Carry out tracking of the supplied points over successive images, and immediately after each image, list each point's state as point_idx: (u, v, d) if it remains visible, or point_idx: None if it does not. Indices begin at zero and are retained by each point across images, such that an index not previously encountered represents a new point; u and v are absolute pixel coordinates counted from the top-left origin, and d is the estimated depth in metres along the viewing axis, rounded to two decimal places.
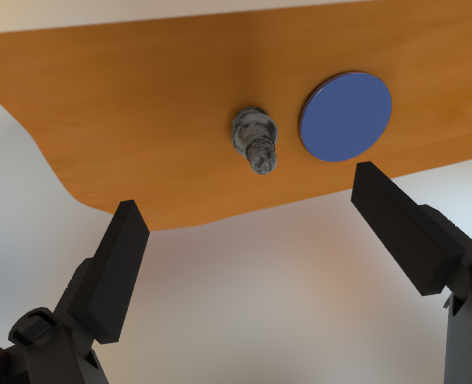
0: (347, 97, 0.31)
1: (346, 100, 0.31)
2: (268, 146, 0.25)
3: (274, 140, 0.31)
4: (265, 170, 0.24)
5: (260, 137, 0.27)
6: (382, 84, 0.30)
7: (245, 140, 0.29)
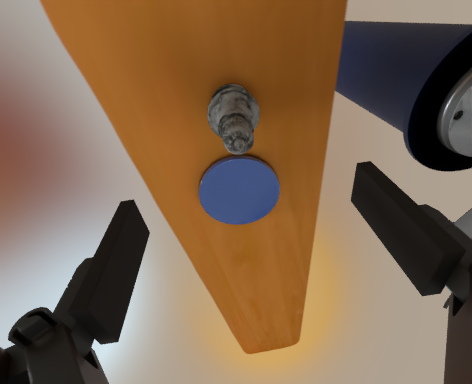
0: (261, 190, 0.36)
1: (258, 190, 0.36)
2: None
3: None
4: (239, 146, 0.21)
5: (252, 128, 0.25)
6: (269, 210, 0.39)
7: (238, 108, 0.25)
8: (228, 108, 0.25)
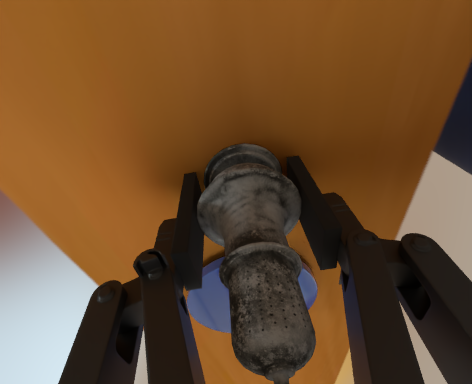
0: None
1: None
2: None
3: None
4: None
5: (298, 272, 0.11)
6: None
7: (264, 218, 0.11)
8: (241, 218, 0.11)
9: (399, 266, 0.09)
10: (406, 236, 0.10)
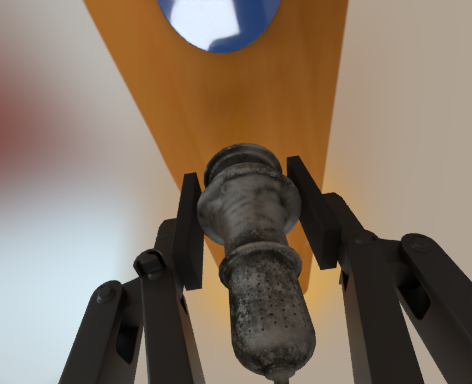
0: None
1: None
2: None
3: None
4: None
5: (298, 272, 0.11)
6: (268, 22, 0.24)
7: (264, 218, 0.11)
8: (241, 217, 0.11)
9: (399, 266, 0.09)
10: (405, 236, 0.10)
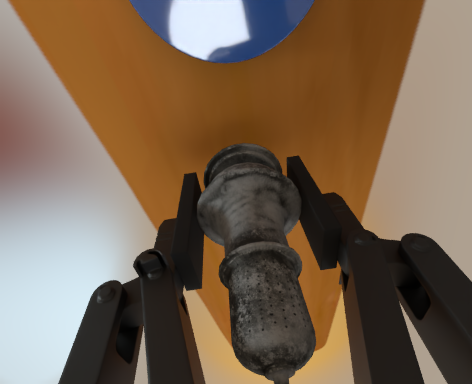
0: None
1: None
2: None
3: None
4: None
5: (298, 272, 0.11)
6: (302, 13, 0.15)
7: (264, 218, 0.11)
8: (241, 217, 0.11)
9: (399, 266, 0.09)
10: (405, 236, 0.10)
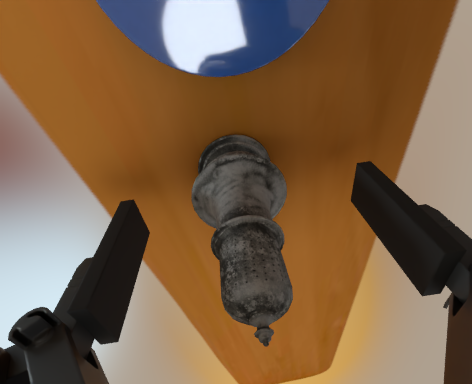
0: None
1: None
2: None
3: None
4: (264, 340, 0.08)
5: (281, 243, 0.12)
6: (314, 16, 0.12)
7: (251, 197, 0.13)
8: (231, 198, 0.13)
9: None
10: None
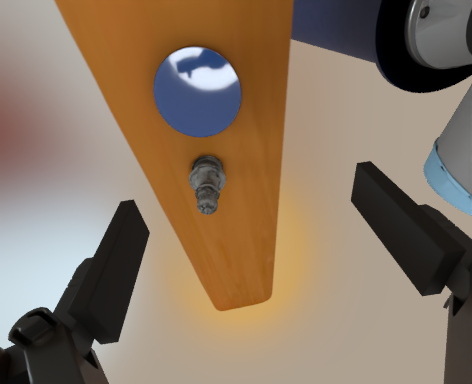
0: (221, 91, 0.34)
1: (218, 91, 0.34)
2: None
3: None
4: (207, 213, 0.33)
5: (218, 194, 0.37)
6: (231, 120, 0.37)
7: (209, 179, 0.37)
8: (202, 179, 0.38)
9: None
10: None
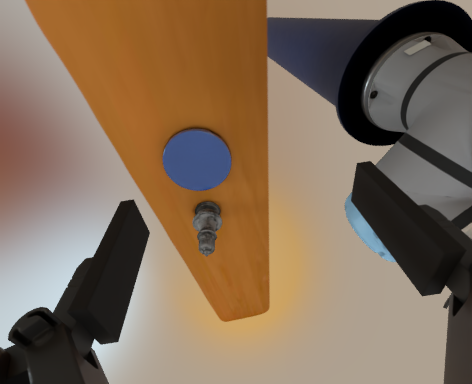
0: (215, 159, 0.43)
1: (213, 158, 0.43)
2: None
3: None
4: (206, 255, 0.43)
5: (215, 236, 0.46)
6: (224, 178, 0.46)
7: (208, 224, 0.47)
8: (203, 224, 0.47)
9: None
10: None
